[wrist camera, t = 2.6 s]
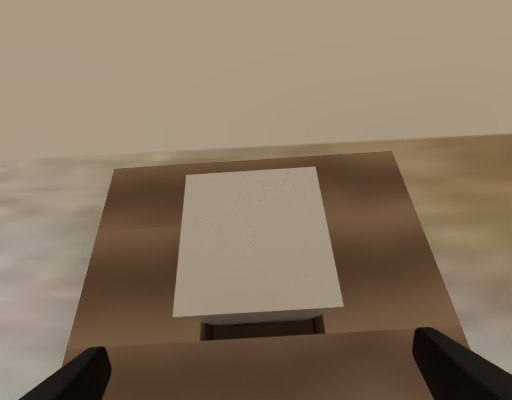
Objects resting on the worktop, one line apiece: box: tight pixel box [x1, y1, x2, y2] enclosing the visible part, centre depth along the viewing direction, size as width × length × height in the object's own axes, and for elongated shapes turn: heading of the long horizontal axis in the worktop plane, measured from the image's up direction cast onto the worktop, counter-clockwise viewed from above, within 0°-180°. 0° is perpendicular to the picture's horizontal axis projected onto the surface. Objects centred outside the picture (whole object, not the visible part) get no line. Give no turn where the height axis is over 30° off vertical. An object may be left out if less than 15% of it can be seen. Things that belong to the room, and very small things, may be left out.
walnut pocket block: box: [62, 151, 470, 400], centre depth 17 cm, size 15×20×6 cm
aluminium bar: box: [173, 167, 344, 327], centre depth 13 cm, size 5×5×10 cm
